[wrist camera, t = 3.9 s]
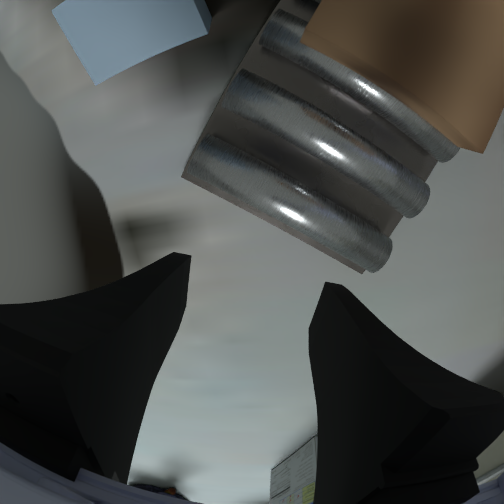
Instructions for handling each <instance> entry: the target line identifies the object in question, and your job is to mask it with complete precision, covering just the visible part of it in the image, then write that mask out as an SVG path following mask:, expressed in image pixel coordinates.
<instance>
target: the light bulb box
mask: <svg viewBox="0 0 504 504" xmlns="http://www.w3.org/2000/svg"><path fill="white" fill-rule="evenodd" d="M317 444H318V437H317V436H314V438H312V439H311V440H310V441H309V442H308V443H306V444H305V445H304V446H303V447H302V448H300V449H299V450H298V451H297V452H295V453H294V454H293V455H291V456H290V457H289V458H288V459H286V460H285V461H284V462H282V463H281V464H280V465H278V466H277V467H276V468H274V469H273V470H272V471H271V481H270V504H313V500H314V492H315V481H316V468H317Z"/></svg>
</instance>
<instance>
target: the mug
mask: <svg viewBox="0 0 504 504" xmlns="http://www.w3.org/2000/svg"><path fill="white" fill-rule="evenodd" d="M133 487H136V488H139V489H143V490H146V491H150V492H153V493H157V494H161V495H165V496H169V497H173V498H178V499H182V500H185V499H184V498H183V497H181V496H180V495H177V494H175V493H176V489H174V488H169V489H167V490H165V489H162V488H158V487H155V486H152V485H142V484H137V485H134V486H133Z"/></svg>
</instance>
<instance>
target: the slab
mask: <svg viewBox="0 0 504 504" xmlns="http://www.w3.org/2000/svg"><path fill="white" fill-rule="evenodd" d="M300 43H302V44H304V45H306V46H308V47H310V48H312V49H314V50H316V51H318V52H320V53H322V54H324V55H326V56H328V57H329V58H331V59H333V60H335V61H337V62H338V63H340V64H342V65H344V66H346V67H347V68H349V69H351V70H352V71H354V72H356V73H357V74H359V75H361V76H362V77H364V78H366V79H367V80H369V81H370V82H372V83H374V84H375V85H377V86H378V87H380V88H381V89H383V90H384V91H386V92H387V93H389V94H390V95H392V96H393V97H395V98H396V99H398V100H399V101H400V102H402V103H403V104H405V105H406V106H407V107H409V108H410V109H411V110H413V111H414V112H415V113H417V114H418V115H419V116H421V117H422V118H423V119H425V120H426V121H427V122H429V123H430V124H431V125H432V126H434V127H435V128H436V129H437V130H439V131H440V132H441V133H442V134H443V135H445V136H446V137H447V138H448V139H449V140H451V141H452V142H453V143H454V144H455V145H456V146H457V147H461V148H464V149H468V150H471V151H475V152H478V153H482V154H483V152H484V150H485V148H486V146H487V144H488V142H489V140H490V138H491V135H492V133H493V131H494V129H495V127H496V124H497V122H498V120H499V117H500V115H501V113H502V110H503V108H504V0H322V1H321V3H320V4H319V6H318V8H317V9H316V11H315V13H314V14H313V16H312V18H311V19H310V21H309V23H308V25H307V26H306V28H305V30H304V33H303V35H302V38H301V40H300Z"/></svg>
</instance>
